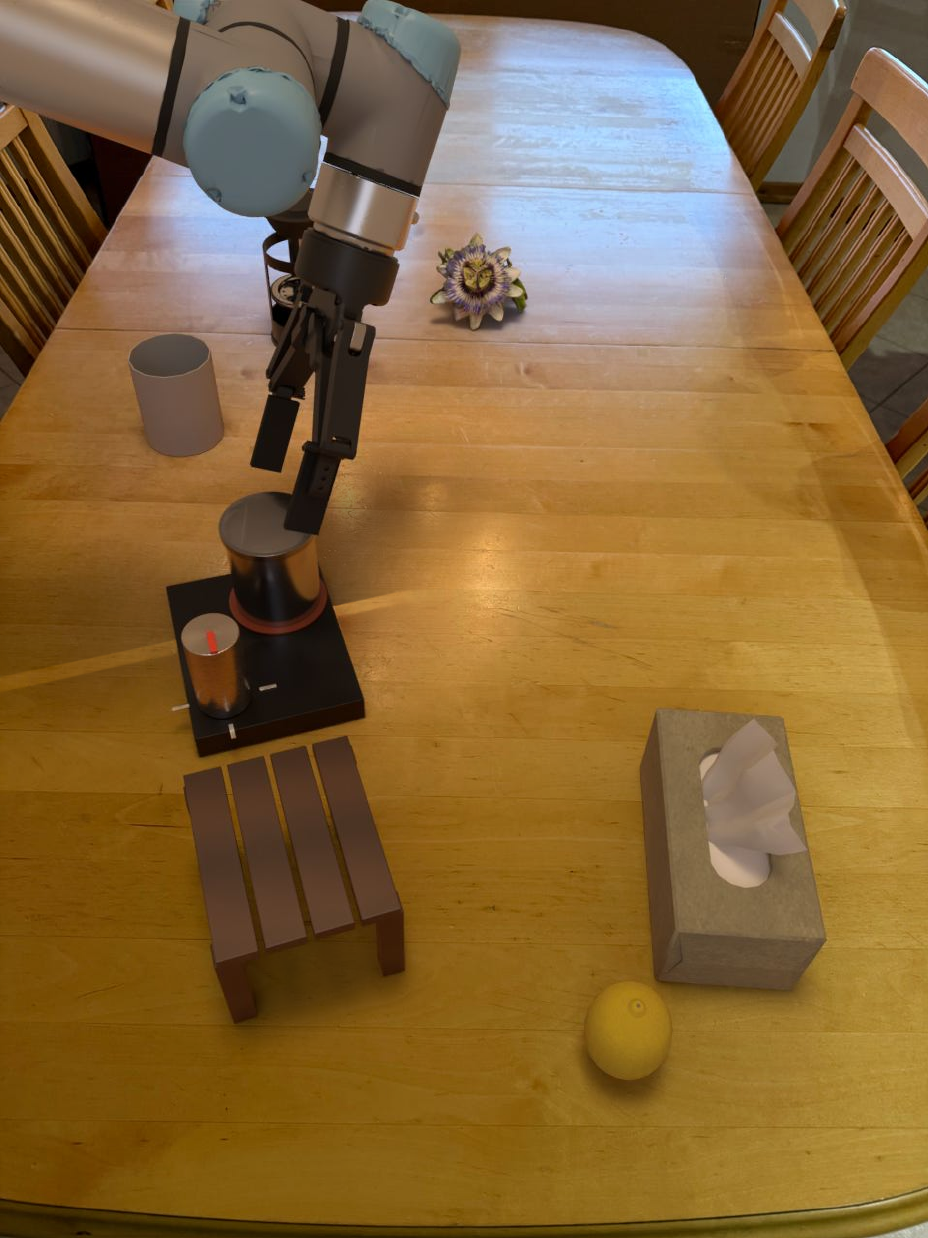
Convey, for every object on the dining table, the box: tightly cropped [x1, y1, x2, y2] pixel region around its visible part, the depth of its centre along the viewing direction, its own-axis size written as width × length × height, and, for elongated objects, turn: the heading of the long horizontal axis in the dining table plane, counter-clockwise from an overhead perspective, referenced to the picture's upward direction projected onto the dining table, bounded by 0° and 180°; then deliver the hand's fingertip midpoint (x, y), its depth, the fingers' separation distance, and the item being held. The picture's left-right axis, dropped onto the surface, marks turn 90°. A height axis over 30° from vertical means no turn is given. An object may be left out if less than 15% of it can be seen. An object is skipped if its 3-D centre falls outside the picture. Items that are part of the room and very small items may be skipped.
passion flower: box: [429, 232, 529, 331], centre depth 127 cm, size 11×11×12 cm
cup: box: [127, 332, 225, 458], centre depth 106 cm, size 8×8×10 cm
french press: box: [261, 187, 315, 348], centre depth 116 cm, size 12×9×23 cm
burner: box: [229, 577, 328, 635], centre depth 90 cm, size 9×9×1 cm
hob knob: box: [181, 613, 252, 719], centre depth 79 cm, size 4×4×8 cm
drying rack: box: [182, 735, 406, 1024], centre depth 69 cm, size 14×12×10 cm
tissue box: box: [639, 707, 828, 991], centre depth 70 cm, size 19×10×16 cm, turn 176°
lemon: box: [583, 980, 673, 1081], centre depth 63 cm, size 6×6×8 cm
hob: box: [165, 563, 366, 758], centre depth 87 cm, size 19×15×3 cm
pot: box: [217, 491, 321, 627], centre depth 87 cm, size 8×8×9 cm
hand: (281, 498), depth 82 cm, fingers open, 13 cm apart
